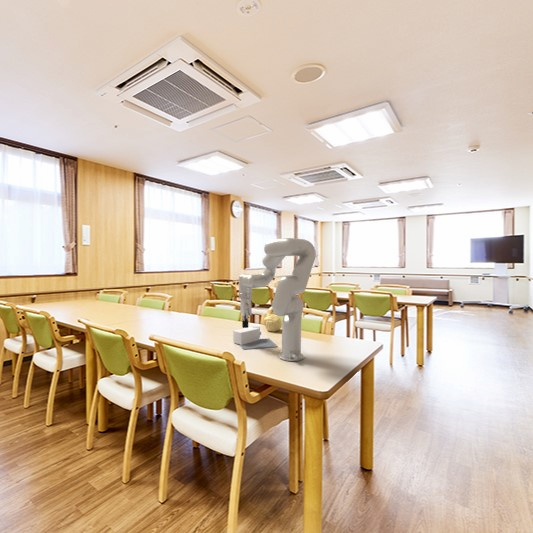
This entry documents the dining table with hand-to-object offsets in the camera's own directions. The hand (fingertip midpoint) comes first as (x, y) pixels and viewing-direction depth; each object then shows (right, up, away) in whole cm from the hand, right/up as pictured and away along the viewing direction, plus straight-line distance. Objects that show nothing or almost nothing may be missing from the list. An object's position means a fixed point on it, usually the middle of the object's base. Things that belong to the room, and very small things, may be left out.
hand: (245, 327), depth 177 cm
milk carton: (-5, -6, 0) cm, 8 cm away
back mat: (+7, -10, +2) cm, 12 cm away
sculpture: (+17, -10, +36) cm, 41 cm away
